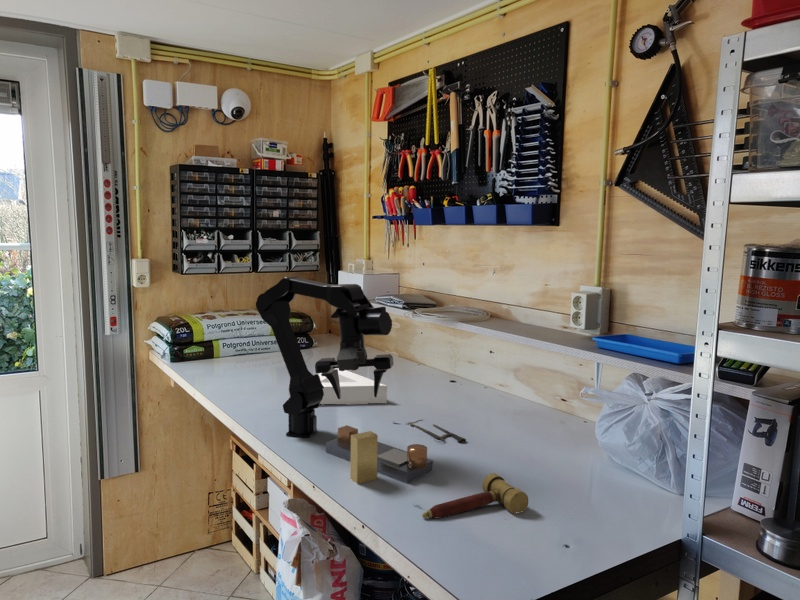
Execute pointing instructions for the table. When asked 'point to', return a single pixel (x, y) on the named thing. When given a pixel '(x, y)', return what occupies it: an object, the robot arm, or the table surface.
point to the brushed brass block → (363, 457)
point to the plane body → (386, 456)
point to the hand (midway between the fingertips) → (357, 397)
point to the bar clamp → (458, 438)
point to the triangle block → (352, 390)
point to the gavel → (484, 499)
